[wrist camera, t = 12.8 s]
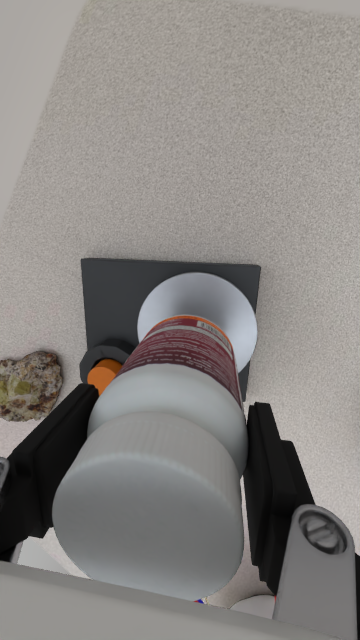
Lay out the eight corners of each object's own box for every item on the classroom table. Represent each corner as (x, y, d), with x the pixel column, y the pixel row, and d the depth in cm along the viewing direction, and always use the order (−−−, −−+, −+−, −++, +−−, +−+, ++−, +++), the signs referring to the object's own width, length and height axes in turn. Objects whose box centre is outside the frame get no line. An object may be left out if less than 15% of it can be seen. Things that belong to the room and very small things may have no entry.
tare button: (96, 385, 26) (88, 395, 24) (94, 357, 25) (85, 365, 23) (126, 388, 26) (119, 398, 24) (125, 360, 25) (118, 368, 23)
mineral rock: (21, 445, 31) (-47, 410, 28) (37, 416, 35) (-22, 383, 32) (80, 393, 28) (10, 348, 25) (90, 368, 32) (30, 326, 29)
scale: (97, 381, 29) (81, 398, 26) (89, 257, 26) (69, 259, 22) (243, 396, 27) (246, 417, 24) (258, 264, 24) (264, 268, 20)
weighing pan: (139, 378, 25) (138, 381, 24) (138, 269, 22) (136, 269, 21) (250, 389, 23) (250, 393, 23) (263, 274, 20) (265, 275, 20)
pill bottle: (132, 322, 17) (-8, 450, 7) (225, 303, 16) (239, 420, 5) (156, 403, 19) (74, 616, 8) (243, 391, 18) (283, 622, 7)
